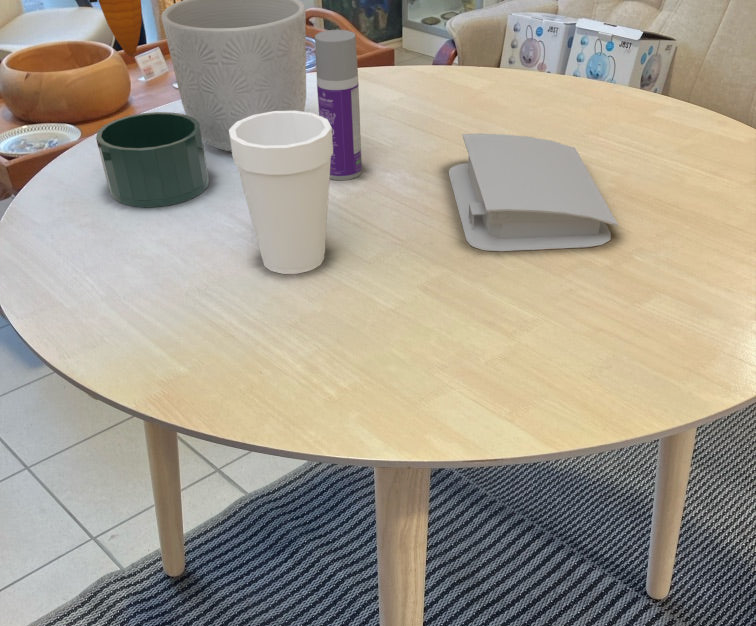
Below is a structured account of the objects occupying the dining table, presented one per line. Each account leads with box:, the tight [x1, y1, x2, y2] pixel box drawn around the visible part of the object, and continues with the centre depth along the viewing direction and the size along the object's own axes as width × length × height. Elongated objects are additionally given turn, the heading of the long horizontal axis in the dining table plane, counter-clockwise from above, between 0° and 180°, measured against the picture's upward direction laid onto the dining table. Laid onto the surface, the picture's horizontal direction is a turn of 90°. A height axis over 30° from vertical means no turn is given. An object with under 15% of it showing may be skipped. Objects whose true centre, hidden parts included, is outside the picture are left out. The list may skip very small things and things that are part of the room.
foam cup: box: [229, 111, 333, 275], centre depth 83 cm, size 10×9×13 cm
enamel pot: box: [95, 111, 210, 208], centre depth 99 cm, size 12×12×6 cm
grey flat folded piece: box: [447, 132, 619, 252], centre depth 95 cm, size 15×23×4 cm, turn 3°
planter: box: [161, 0, 307, 153], centre depth 106 cm, size 17×17×15 cm
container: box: [314, 29, 363, 181], centre depth 98 cm, size 5×5×15 cm
